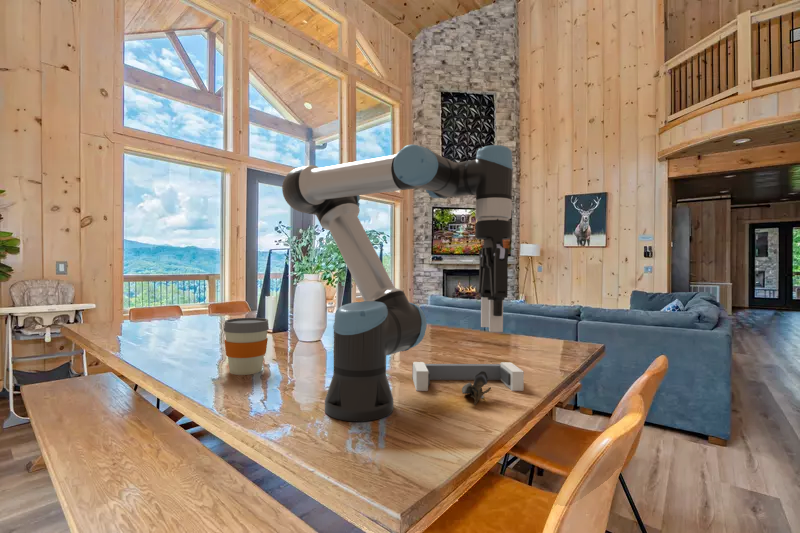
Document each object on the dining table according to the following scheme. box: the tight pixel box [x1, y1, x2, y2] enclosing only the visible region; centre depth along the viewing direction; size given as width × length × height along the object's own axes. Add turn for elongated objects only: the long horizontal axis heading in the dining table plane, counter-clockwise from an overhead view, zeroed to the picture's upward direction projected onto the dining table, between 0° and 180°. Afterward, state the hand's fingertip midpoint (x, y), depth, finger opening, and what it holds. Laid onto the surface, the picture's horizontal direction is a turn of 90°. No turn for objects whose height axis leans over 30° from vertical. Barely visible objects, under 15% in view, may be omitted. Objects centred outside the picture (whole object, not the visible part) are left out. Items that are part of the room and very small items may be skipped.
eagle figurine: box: [461, 371, 492, 406], centre depth 97 cm, size 8×7×9 cm
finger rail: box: [411, 361, 525, 392], centre depth 109 cm, size 28×12×5 cm, turn 93°
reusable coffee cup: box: [223, 317, 270, 376], centre depth 119 cm, size 13×13×15 cm
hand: (491, 329), depth 85 cm, fingers open, 6 cm apart
